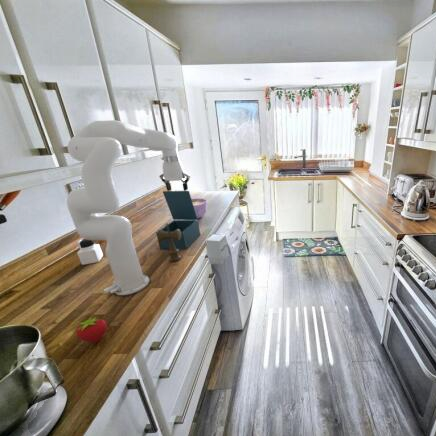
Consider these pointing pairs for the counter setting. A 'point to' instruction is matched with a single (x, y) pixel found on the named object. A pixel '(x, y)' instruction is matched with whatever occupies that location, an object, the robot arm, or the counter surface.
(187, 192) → the dark teal box lid
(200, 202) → the bowl of food
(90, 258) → the medicine bottle
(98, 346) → the counter surface
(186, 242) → the teal rectangular box
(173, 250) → the kendama
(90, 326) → the strawberry
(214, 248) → the white packaging box
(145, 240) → the counter surface
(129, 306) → the counter surface
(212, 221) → the counter surface
